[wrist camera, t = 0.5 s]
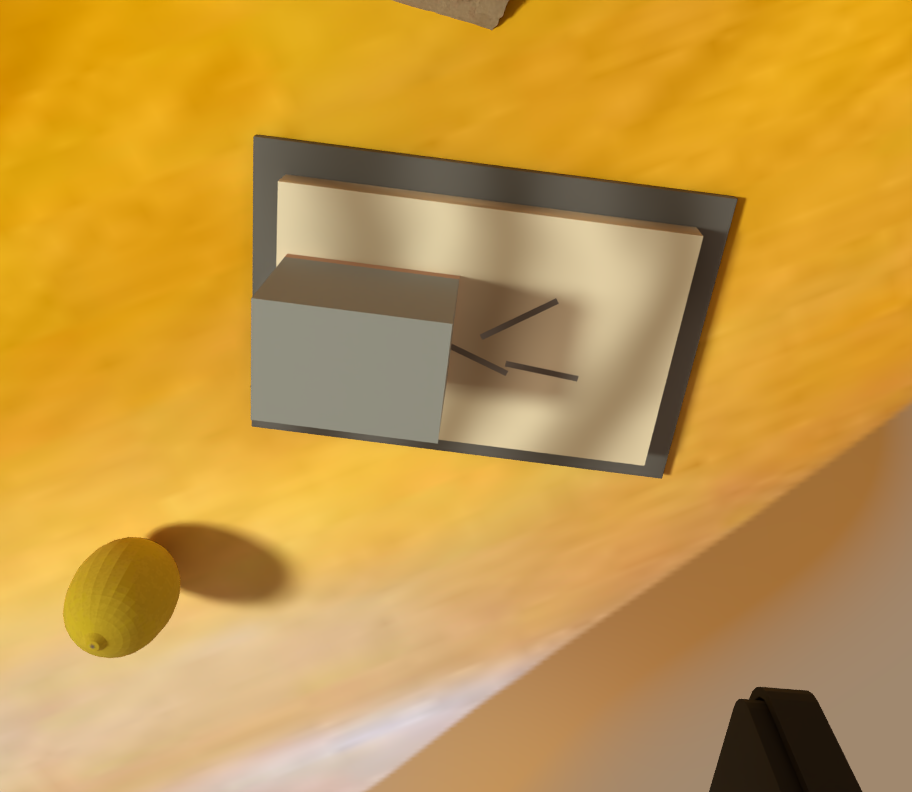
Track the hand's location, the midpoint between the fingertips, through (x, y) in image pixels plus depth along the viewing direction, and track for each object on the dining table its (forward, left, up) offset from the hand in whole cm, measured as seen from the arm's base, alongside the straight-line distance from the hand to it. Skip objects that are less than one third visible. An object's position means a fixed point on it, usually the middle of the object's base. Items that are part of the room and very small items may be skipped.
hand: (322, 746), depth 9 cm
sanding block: (+7, -3, -30) cm, 31 cm away
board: (+7, +2, -32) cm, 33 cm away
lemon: (+24, -15, -32) cm, 43 cm away
